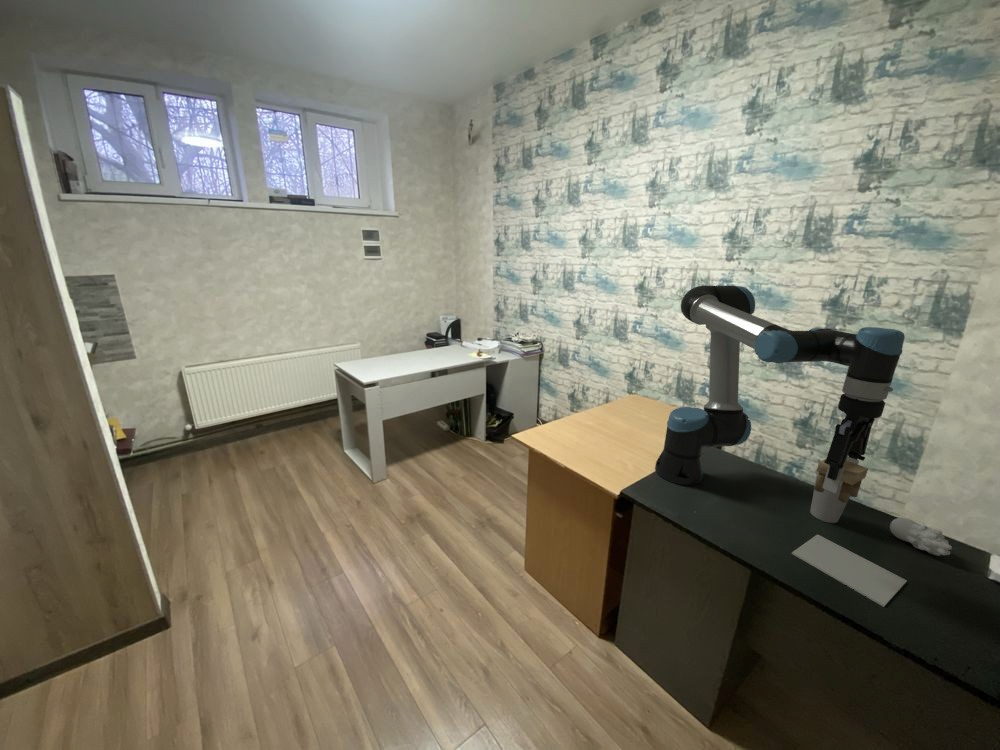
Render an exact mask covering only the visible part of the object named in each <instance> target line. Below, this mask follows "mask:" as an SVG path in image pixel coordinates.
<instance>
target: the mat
mask: <svg viewBox="0 0 1000 750" xmlns="http://www.w3.org/2000/svg"><path fill="white" fill-rule="evenodd" d="M791 555H793V556H795V557H796V558H798V559H800V560H802V561H803V562H805V563H807V564H808V565H810V566H812V567H814V568H815V569H818V570H819V571H821V572H822V573H824V574H826V575H827V576H829V577H831V578H833V579H834V580H836V581H837V582H839V583H841V584H843V585H845V586H846V585H847V586H846V587H848V588H850V589H851V590H853V589H854V590H853V591H855V592H856V593H859V594H860V595H862V596H864V597H865V596H866V597H865V598H867V599H869V600H871V601H873V602H874V603H876V604H878V605H880V606H881V607H883V608H884V607H885V606H887V605H888V604H889V602H890V601H891V600H892V599H893V597H894V596H895V595H896V594H897V593H898V592H899V591H900V590H901V589H902V588H903V587H904V586H905V584H906V583H907V581H908V580H906V579H905V578H903V577H901V576H900V575H897V574H895V573H893V572H891V571H889V570H888V569H885V568H883V567H882V566H880V565H878V564H876V563H874V562H872V561H870V560H868V559H866V558H864V557H862V556H860V555H858V554H857V553H854V552H852V551H851V550H848V549H847V548H845V547H843V546H841V545H839V544H837V543H835V542H833V541H831V540H829V539H828V538H825V537H823V536H822V535H819V534H816V535H814V536H813V537H812V538H810V539H809V540H807V541H806V542H805V543H804V544H802V545H800V546H799V547H798V548H796V549H794V550H793V551H792V552H791Z"/></svg>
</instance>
